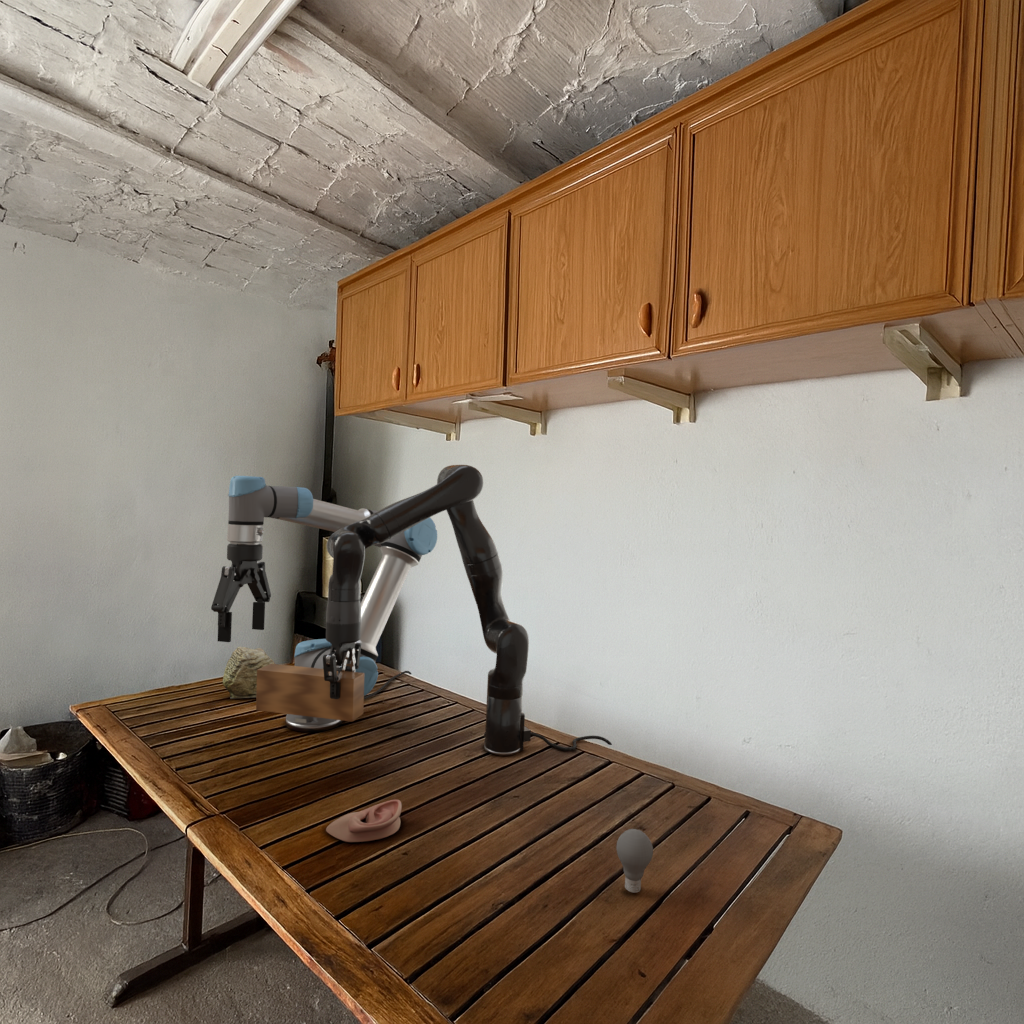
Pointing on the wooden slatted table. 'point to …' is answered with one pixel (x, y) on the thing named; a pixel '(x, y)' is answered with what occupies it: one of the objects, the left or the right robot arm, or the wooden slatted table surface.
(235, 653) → the fossil
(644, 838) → the light bulb
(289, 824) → the wooden slatted table surface
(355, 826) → the anatomical model
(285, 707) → the bar
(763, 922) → the wooden slatted table surface
